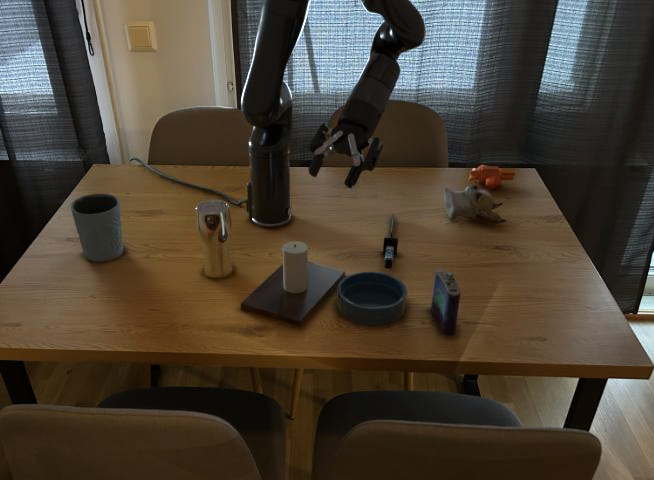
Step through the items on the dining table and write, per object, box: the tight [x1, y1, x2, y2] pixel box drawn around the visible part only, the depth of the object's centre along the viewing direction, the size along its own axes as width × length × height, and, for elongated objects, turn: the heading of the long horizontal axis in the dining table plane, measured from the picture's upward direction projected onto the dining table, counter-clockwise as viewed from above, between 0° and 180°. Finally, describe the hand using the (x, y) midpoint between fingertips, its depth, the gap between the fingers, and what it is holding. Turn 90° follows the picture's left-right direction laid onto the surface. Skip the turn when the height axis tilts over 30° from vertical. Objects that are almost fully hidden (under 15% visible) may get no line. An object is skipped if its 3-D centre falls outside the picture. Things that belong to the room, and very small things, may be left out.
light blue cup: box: [70, 193, 124, 262], centre depth 140 cm, size 10×10×12 cm
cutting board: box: [240, 261, 346, 327], centre depth 129 cm, size 13×20×2 cm, turn 152°
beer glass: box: [195, 199, 234, 279], centre depth 132 cm, size 7×7×15 cm
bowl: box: [336, 271, 408, 326], centre depth 124 cm, size 13×13×4 cm
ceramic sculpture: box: [443, 184, 507, 225], centre depth 154 cm, size 11×9×15 cm
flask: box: [430, 269, 461, 336], centre depth 117 cm, size 9×3×11 cm, turn 8°
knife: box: [382, 213, 399, 270], centre depth 143 cm, size 31×3×4 cm, turn 167°
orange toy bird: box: [467, 164, 516, 190], centre depth 170 cm, size 5×8×12 cm
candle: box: [282, 241, 309, 293], centre depth 125 cm, size 5×5×10 cm
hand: (329, 180), depth 125 cm, fingers open, 8 cm apart
